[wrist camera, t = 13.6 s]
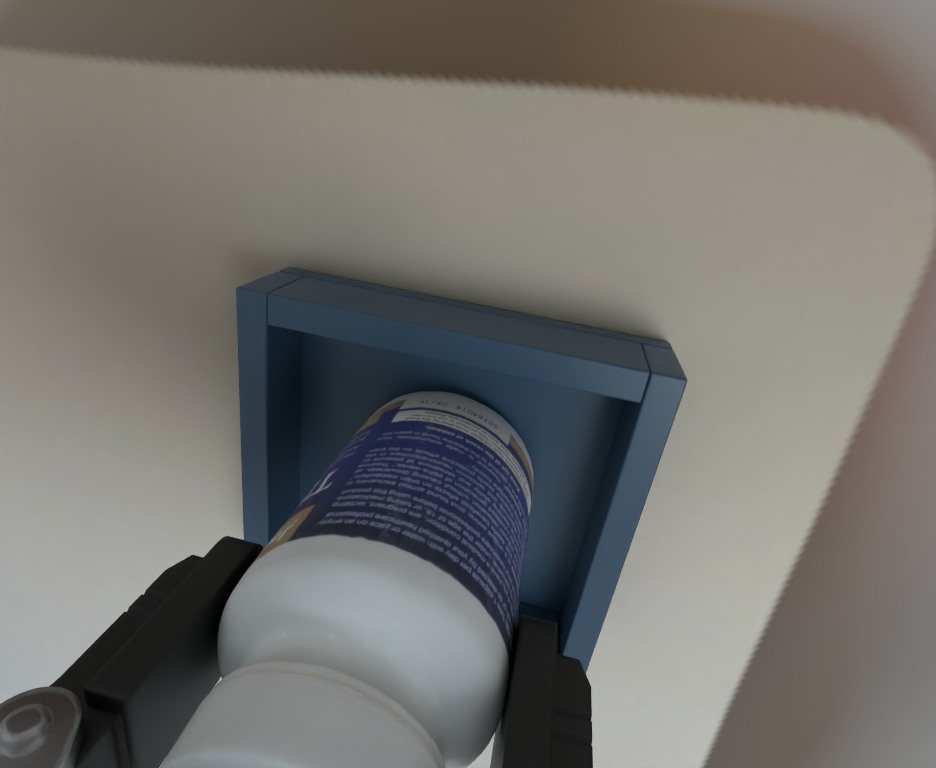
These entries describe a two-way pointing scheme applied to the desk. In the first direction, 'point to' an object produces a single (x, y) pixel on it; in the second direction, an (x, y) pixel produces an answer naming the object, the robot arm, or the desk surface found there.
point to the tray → (479, 378)
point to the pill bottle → (379, 604)
